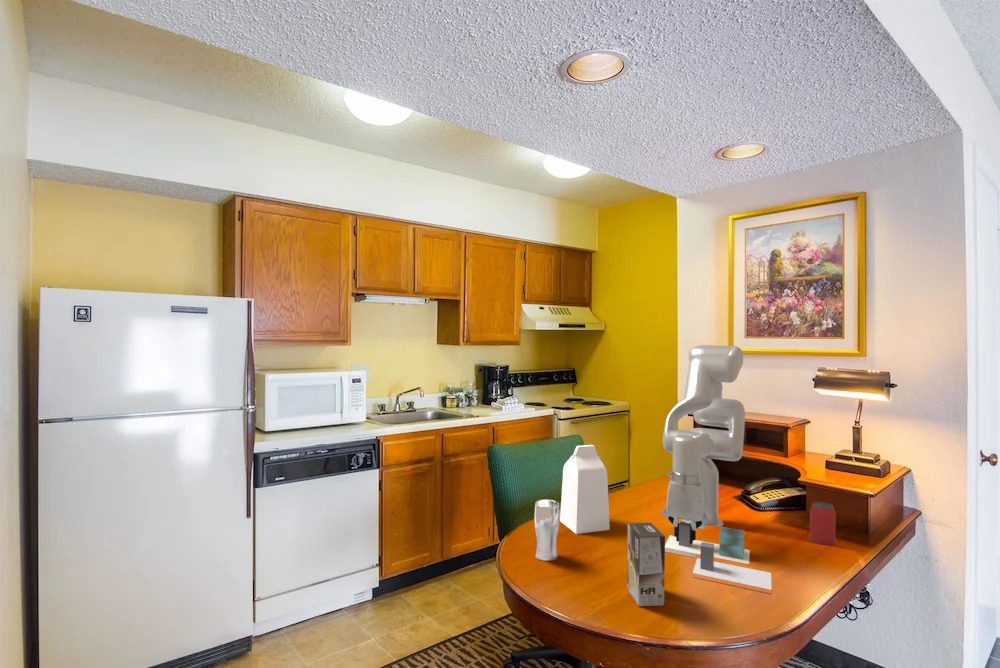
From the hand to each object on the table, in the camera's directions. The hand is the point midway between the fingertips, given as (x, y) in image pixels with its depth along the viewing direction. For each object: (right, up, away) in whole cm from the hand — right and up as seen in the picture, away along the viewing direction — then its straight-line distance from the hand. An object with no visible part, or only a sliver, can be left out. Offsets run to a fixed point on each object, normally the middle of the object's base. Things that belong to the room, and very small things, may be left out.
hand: (684, 540), depth 151 cm
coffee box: (-19, -3, -27) cm, 34 cm away
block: (+11, -1, -6) cm, 13 cm away
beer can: (+44, -4, +6) cm, 44 cm away
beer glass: (-41, -2, -6) cm, 42 cm away
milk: (-26, -3, +18) cm, 32 cm away
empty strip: (+6, -3, -18) cm, 19 cm away
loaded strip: (+5, -3, -3) cm, 6 cm away
